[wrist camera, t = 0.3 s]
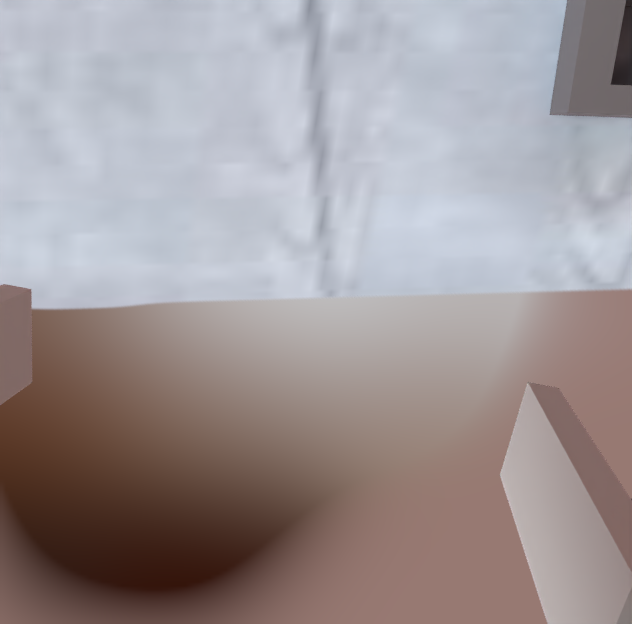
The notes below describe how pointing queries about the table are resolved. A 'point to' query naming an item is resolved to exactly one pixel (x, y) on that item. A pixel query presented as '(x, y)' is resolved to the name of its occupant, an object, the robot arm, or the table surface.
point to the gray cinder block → (590, 61)
